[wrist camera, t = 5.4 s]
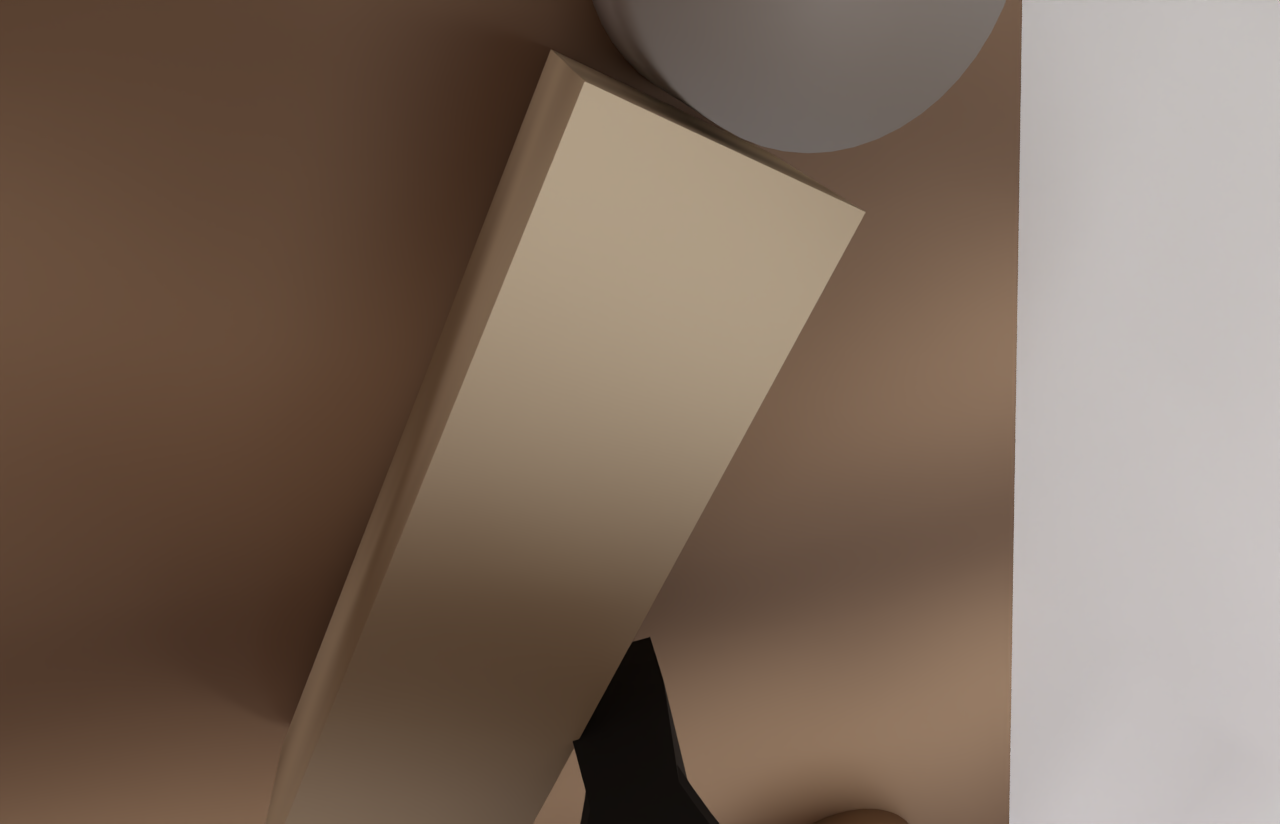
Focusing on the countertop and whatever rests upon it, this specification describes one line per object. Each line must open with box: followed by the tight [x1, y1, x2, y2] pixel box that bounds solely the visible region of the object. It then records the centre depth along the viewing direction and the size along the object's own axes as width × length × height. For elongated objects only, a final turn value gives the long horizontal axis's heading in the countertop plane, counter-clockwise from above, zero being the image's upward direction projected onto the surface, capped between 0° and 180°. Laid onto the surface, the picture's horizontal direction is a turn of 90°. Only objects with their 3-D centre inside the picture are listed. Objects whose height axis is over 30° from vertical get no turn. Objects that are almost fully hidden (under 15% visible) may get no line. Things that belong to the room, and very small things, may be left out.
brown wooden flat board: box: [0, 0, 1022, 824], centre depth 11 cm, size 20×20×4 cm
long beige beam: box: [265, 0, 1006, 824], centre depth 9 cm, size 12×3×2 cm, turn 155°
